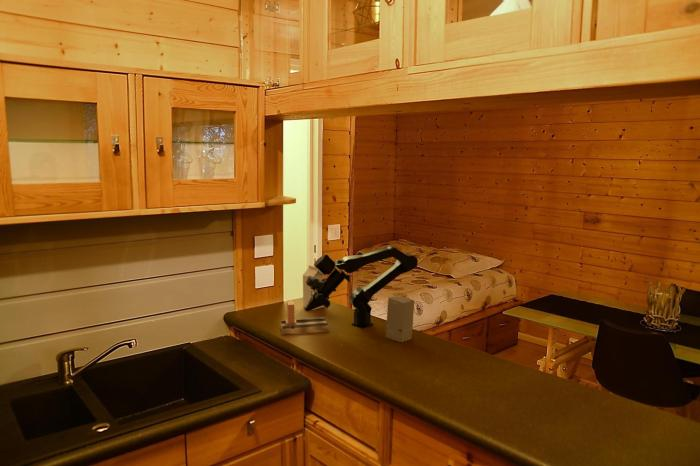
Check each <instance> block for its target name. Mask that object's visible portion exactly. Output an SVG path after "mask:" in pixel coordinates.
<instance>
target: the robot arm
mask: <svg viewBox="0 0 700 466" xmlns="http://www.w3.org/2000/svg"><path fill="white" fill-rule="evenodd" d="M390 258H394V259H396V261H395V263H394V264H393V266H391V267H390V268H389V269H388V270H386V271H384V273H382V274H380V276H378V277H377V278H376V279H375V280H373V281H372V282H371V283H369V284H367V285H366V286H363V287H362V286H361V285H359V286H357V287H356V288H355V289H354V290H352V291H351V294H350V295H349V297H348V298H349V302H350V304H351V305H352V306H353V308H355V309H354V311H353V322H352V323H351V325H353V326H356V327H359V328H362V329H364V328H367V327H370V326H372V325H374V323H373V322H371V321H372V319H371V318H372V316H371V315H372V313H371V311H372V309H373V307H372V306H371V305H370V304H369V302H370V301H371V300H372V298H373V296H374V295H375V294H377V293H378V292H379V291H382V289H383V288H384V287H386V286H388V285H389V284H390V283H392V281H394V280H395V279H396V278H398V277H399V276H400V275H402V274H405V273H409V272H411V271H413V270H414V269H416V268H417V266H418V263H419V261H418V259H417V257H416V256H415V255H413V254H412V253H410V252H403V251H401V250H399V249H397V248H396V247H394V245H389V246H386V247H384V248H381V249H377V250H373V251H370V252H368V253H364V254H359V255H358V254H357V255H356V254H355V255H347V256H343V258H341V259H338V260H337V259H336V260H333V259H332V258H331V257H330V255H328V254H327V252H326V253H324V255H321V256H320V257H318V258H317V259H316V260H315V262H314V264H313V266H314V267H316V268H317V269H318V270H319V271H320V272H321V273H323V274H324V275H327V277H326V278H323V279H322V280H319V279H317V278H314V277H312V276H308V279H307V281H306V283H307V285H308V286H310V288H311V289H313V290H314V292H312V291H311V299H310V301H309V303H308V304H307V306H306V308H305V307H304V311H305V312H306V313H307V312H310V311H313V310H312V309H314V308H317V307H320V306H322V305H323V306H325V307H324V308H326V309H328V308H329V307H330V306H331V301H330V296H331V294H333V292H337V288H338V287H339V286H340V285H341V284H342V283H343V282H344V280H346V281H347V282H348V283H349V282H351V280H350V276H351V274H352V273H355V272H357V271H358V270H360V269H361V268H363V267H364V266H367V265H371V264H374V263H376V262H379V261H384V260H386V259H390Z"/></svg>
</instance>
